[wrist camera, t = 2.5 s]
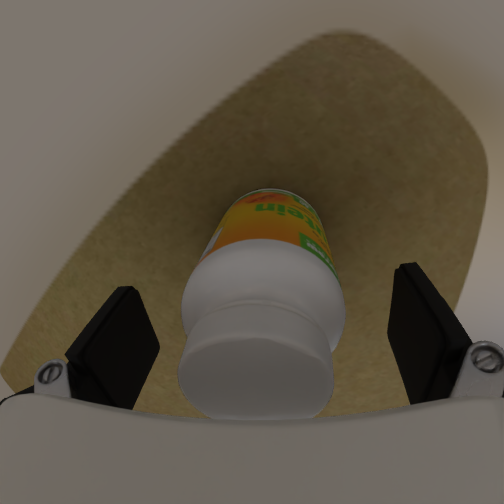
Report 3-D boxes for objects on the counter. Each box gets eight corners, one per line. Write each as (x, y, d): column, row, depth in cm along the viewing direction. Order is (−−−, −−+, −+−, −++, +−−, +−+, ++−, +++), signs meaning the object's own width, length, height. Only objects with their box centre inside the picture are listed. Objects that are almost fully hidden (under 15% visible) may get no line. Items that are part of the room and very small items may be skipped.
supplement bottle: (342, 216, 15) (408, 358, 6) (292, 295, 17) (292, 453, 8) (245, 167, 14) (183, 265, 5) (205, 256, 16) (135, 402, 8)
